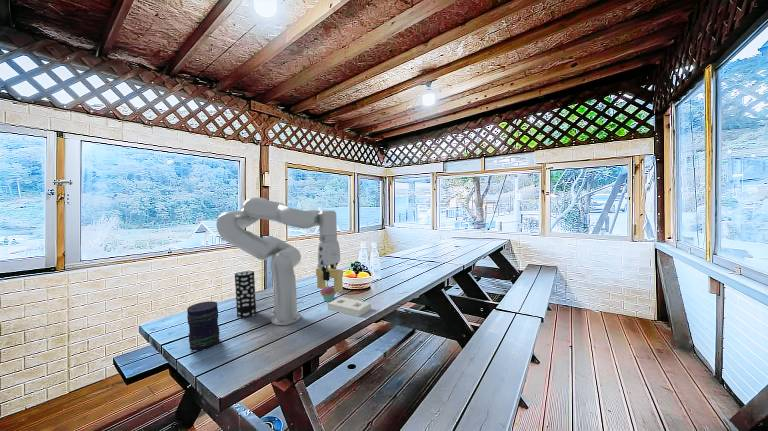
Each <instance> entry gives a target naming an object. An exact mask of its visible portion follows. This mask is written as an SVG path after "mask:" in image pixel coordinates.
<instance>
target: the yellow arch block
mask: <svg viewBox="0 0 768 431" xmlns="http://www.w3.org/2000/svg"><path fill="white" fill-rule="evenodd" d="M328 272H329V279H333V287H334V291H335V292H336V293H340V292H342V291H343V287H344V286H343V278H344V270H342V269H337V268H336V269H331V268H330V267H328ZM315 275H316V279H317V280H316V282H317V289H320V290H322V289H323V288H325V287H327V282H326V280H323V271H322V270H321V269H320V268H318V267H316V268H315Z"/></svg>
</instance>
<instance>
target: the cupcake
mask: <svg viewBox="0 0 768 431" xmlns="http://www.w3.org/2000/svg"><path fill="white" fill-rule="evenodd" d="M325 282H326V287H325V288H322V289H320V295H321V296H322V297H323V301H324V302H331V301H333V300H334V298H335V295H336V293H337V292H335V291H334V286H329V281H326V280H325Z"/></svg>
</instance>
